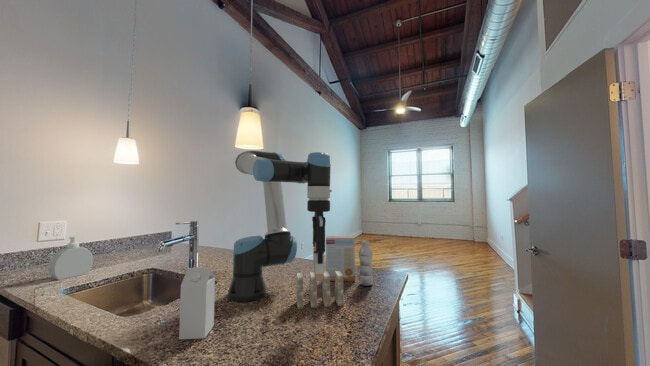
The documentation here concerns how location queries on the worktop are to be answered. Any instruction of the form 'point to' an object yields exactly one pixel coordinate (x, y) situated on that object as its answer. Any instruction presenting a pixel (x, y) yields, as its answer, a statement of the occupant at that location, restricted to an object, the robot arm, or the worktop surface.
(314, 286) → the domino
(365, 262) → the plastic bottle
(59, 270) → the soap bottle
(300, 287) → the domino
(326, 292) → the domino
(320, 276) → the domino end
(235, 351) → the worktop surface
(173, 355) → the worktop surface
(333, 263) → the cracker box
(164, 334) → the worktop surface
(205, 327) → the milk carton
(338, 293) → the domino
